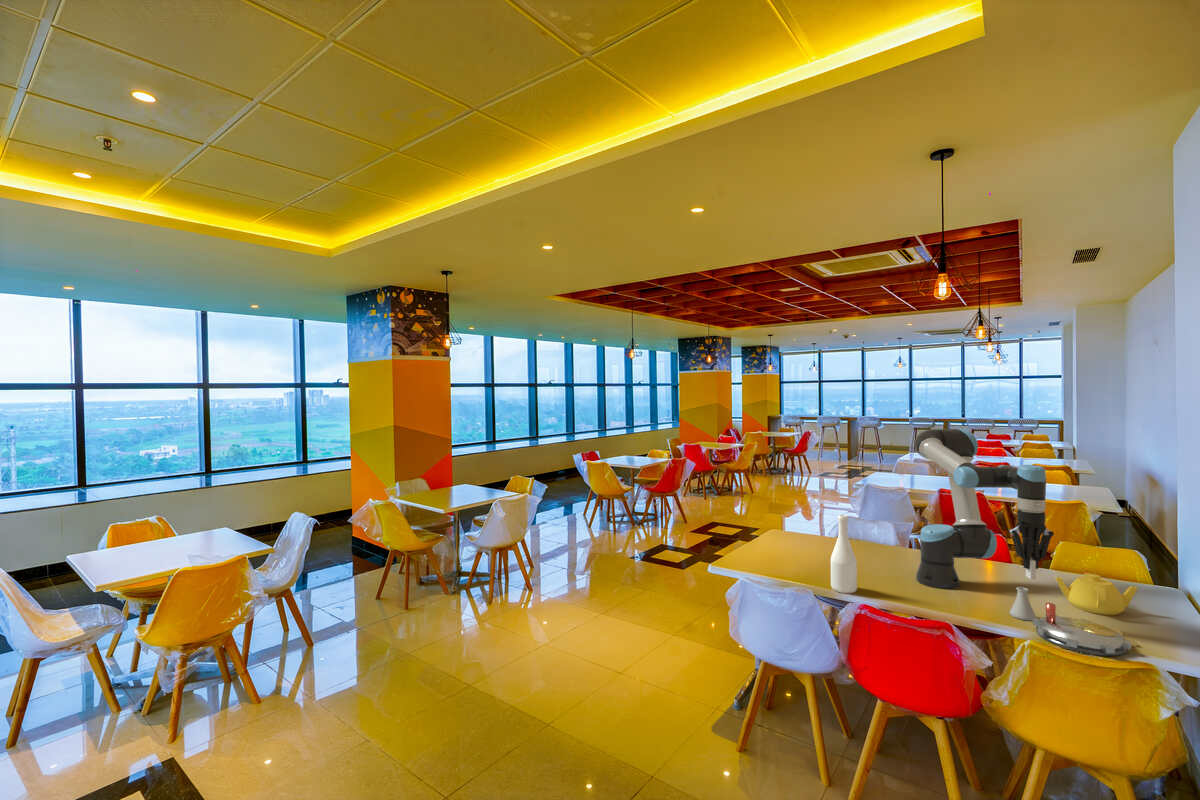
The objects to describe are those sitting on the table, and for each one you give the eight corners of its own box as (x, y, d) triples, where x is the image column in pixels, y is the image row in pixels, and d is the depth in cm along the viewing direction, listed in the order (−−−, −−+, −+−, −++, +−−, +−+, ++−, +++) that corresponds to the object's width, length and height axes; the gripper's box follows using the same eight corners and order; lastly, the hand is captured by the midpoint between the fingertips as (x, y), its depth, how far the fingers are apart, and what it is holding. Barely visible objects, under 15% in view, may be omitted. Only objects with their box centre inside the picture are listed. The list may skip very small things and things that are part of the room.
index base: (1060, 652, 158) (1060, 648, 158) (1022, 622, 178) (1022, 619, 178) (1160, 661, 152) (1160, 657, 152) (1109, 629, 173) (1109, 625, 172)
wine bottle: (860, 589, 211) (859, 515, 211) (852, 596, 204) (851, 519, 204) (835, 583, 218) (834, 511, 218) (827, 590, 211) (826, 515, 211)
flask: (1004, 613, 186) (1004, 585, 186) (1023, 612, 187) (1022, 584, 187) (1022, 622, 179) (1022, 593, 179) (1041, 620, 180) (1041, 592, 180)
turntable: (1124, 661, 150) (1124, 633, 150) (1024, 634, 168) (1024, 609, 167) (1135, 637, 164) (1135, 612, 164) (1042, 614, 182) (1042, 591, 182)
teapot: (1104, 620, 180) (1103, 585, 180) (1052, 601, 196) (1051, 569, 196) (1139, 614, 184) (1139, 580, 184) (1085, 597, 200) (1085, 565, 200)
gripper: (1016, 512, 178) (1016, 581, 179) (1060, 513, 176) (1059, 582, 176) (1003, 507, 185) (1003, 573, 186) (1045, 508, 183) (1044, 574, 184)
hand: (1030, 577), depth 181 cm, fingers closed
